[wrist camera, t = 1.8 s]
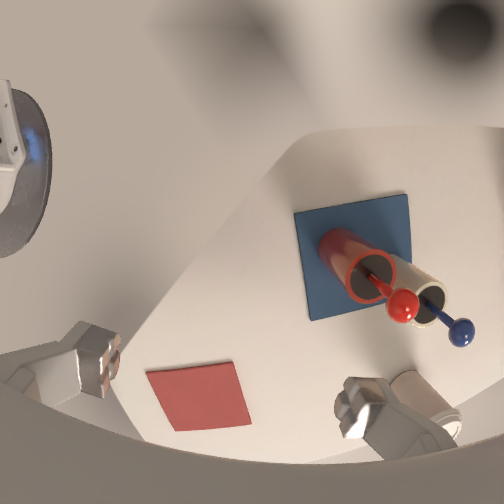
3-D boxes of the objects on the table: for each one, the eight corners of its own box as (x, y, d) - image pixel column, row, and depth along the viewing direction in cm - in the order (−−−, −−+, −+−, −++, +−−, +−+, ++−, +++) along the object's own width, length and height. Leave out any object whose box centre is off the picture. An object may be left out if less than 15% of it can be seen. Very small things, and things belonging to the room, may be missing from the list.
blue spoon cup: (369, 258, 39) (450, 322, 20) (404, 250, 38) (494, 303, 20) (371, 295, 40) (442, 373, 22) (405, 286, 40) (484, 353, 22)
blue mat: (293, 213, 37) (294, 213, 37) (405, 193, 37) (407, 194, 36) (310, 319, 41) (311, 321, 41) (410, 294, 41) (412, 295, 40)
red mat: (146, 371, 43) (145, 373, 42) (232, 361, 43) (232, 363, 42) (175, 429, 47) (175, 431, 46) (251, 422, 46) (251, 424, 46)
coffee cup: (377, 378, 45) (413, 439, 30) (425, 354, 44) (469, 406, 30) (383, 410, 47) (413, 467, 33) (426, 389, 47) (462, 439, 32)
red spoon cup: (315, 231, 37) (377, 287, 19) (356, 223, 37) (441, 269, 19) (321, 273, 39) (377, 353, 21) (360, 264, 39) (437, 333, 21)
